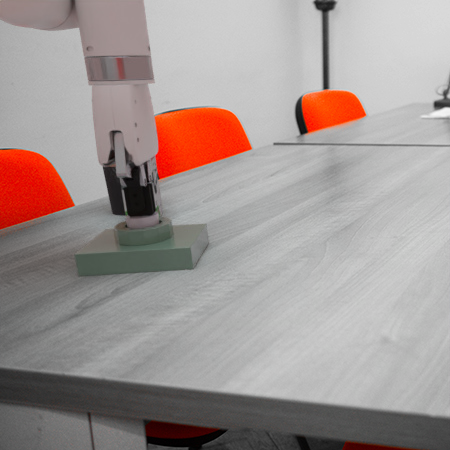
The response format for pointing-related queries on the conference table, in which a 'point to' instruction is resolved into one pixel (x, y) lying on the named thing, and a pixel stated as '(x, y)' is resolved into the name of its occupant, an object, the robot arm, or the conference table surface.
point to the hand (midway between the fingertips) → (142, 214)
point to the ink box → (155, 188)
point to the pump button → (142, 221)
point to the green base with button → (143, 249)
